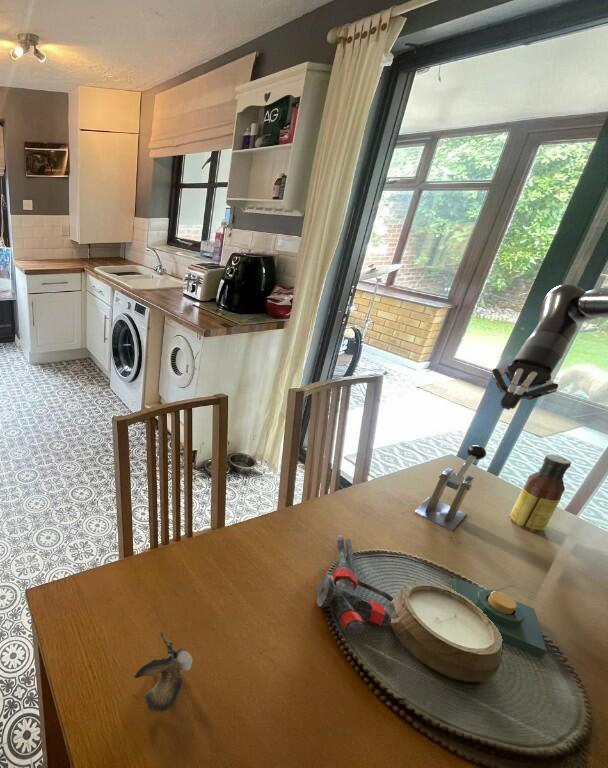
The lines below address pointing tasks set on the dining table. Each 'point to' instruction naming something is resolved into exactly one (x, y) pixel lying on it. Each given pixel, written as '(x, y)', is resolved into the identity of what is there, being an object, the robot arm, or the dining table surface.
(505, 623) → the green button base
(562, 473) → the sauce bottle
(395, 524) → the dining table surface
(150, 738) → the dining table surface
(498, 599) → the button
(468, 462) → the lever handle
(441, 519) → the grey metal stand
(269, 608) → the dining table surface
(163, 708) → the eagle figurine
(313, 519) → the dining table surface
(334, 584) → the valve
